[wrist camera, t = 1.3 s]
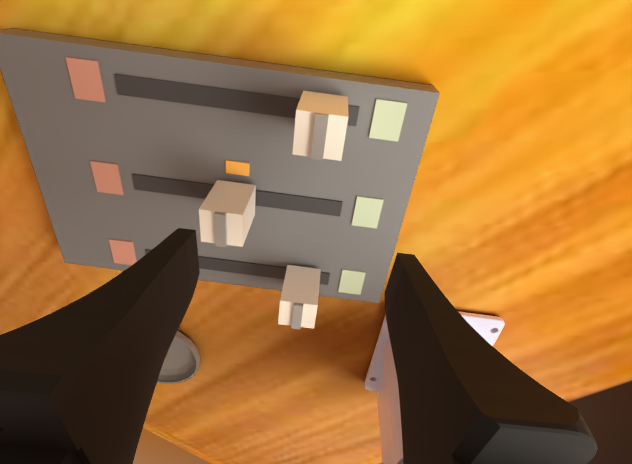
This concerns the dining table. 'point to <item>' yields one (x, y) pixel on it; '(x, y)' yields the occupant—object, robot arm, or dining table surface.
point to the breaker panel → (213, 157)
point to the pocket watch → (180, 361)
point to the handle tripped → (227, 213)
